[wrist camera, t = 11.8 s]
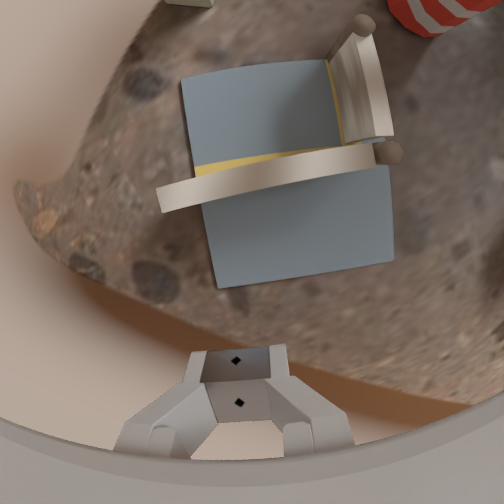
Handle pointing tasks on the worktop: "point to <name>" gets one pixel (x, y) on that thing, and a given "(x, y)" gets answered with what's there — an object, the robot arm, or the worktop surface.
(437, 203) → the worktop surface
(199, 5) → the skincare box
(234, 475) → the robot arm
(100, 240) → the worktop surface
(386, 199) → the card
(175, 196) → the fence panel
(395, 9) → the beverage can
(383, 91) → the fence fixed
